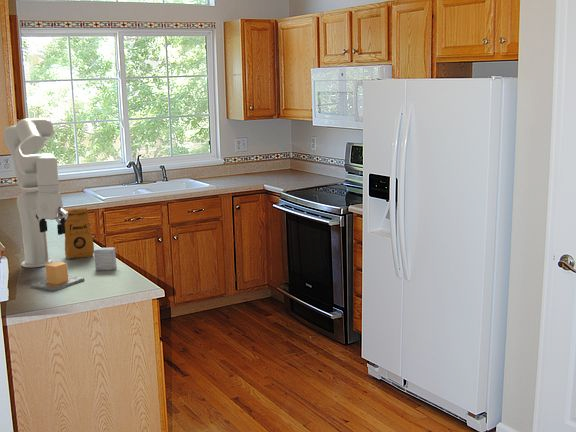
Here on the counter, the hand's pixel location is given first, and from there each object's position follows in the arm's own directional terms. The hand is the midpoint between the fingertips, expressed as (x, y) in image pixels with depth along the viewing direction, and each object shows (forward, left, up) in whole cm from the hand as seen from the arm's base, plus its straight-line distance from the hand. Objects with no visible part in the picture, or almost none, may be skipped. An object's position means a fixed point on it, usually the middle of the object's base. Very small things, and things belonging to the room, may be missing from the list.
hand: (52, 232), depth 268 cm
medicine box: (-18, +17, -21) cm, 32 cm away
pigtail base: (0, 0, -20) cm, 20 cm away
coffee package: (-42, +4, -21) cm, 47 cm away
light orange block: (0, 0, -19) cm, 19 cm away
